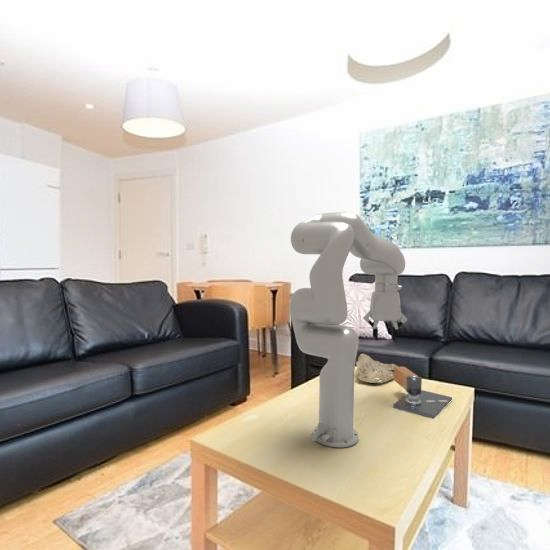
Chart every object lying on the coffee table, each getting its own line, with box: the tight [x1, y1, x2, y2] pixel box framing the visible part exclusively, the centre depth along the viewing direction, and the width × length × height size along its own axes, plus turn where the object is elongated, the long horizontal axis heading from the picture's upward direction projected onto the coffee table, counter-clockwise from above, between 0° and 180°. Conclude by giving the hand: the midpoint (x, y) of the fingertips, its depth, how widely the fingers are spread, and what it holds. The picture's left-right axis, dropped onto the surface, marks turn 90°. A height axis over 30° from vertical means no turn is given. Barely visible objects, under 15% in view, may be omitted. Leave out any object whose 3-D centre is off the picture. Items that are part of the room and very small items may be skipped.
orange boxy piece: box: [393, 366, 423, 395], centre depth 135 cm, size 15×5×6 cm, turn 5°
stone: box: [355, 353, 399, 384], centre depth 163 cm, size 30×10×15 cm
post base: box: [392, 389, 453, 419], centre depth 132 cm, size 20×13×4 cm
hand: (384, 339), depth 135 cm, fingers open, 5 cm apart
